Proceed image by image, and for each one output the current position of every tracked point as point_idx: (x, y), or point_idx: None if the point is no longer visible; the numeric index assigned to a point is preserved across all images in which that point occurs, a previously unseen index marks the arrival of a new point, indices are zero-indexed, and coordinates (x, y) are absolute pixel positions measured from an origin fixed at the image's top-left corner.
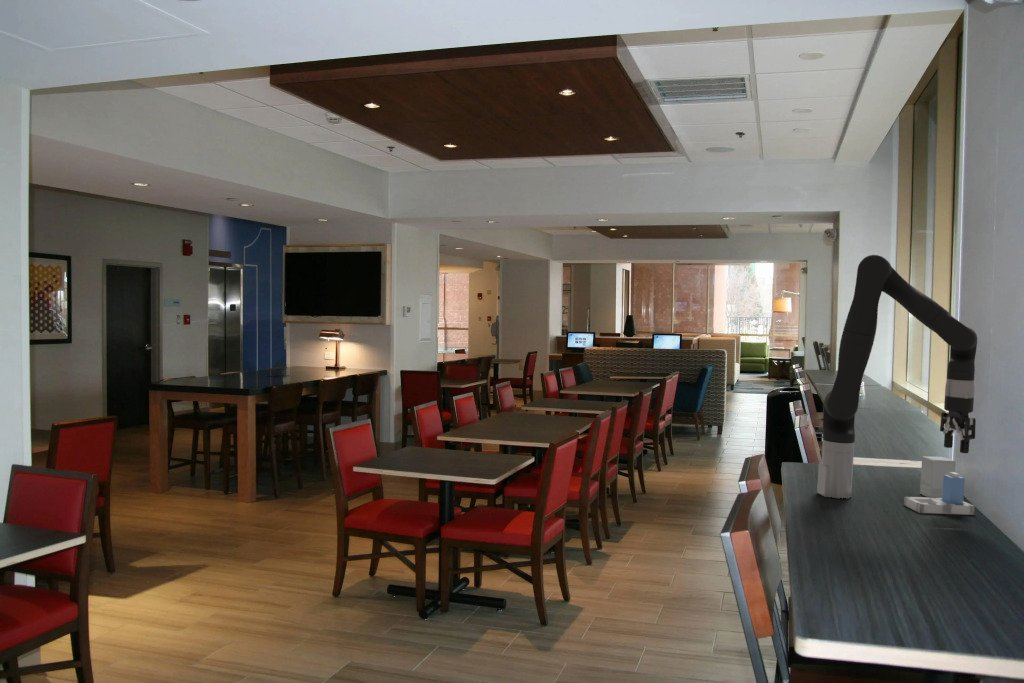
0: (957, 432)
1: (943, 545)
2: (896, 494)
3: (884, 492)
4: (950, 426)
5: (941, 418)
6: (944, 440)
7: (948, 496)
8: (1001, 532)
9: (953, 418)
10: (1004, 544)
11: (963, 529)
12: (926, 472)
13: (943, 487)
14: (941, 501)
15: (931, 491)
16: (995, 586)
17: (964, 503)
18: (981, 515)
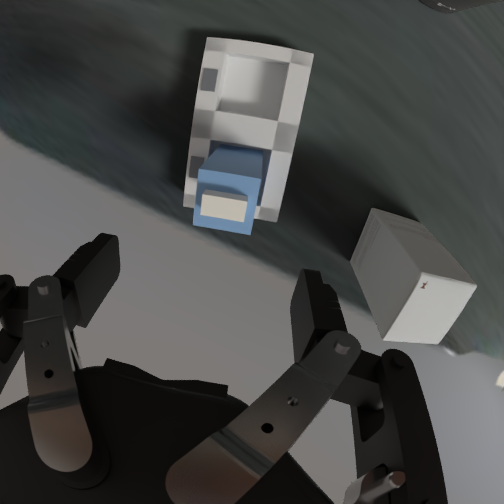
0: (60, 314)
1: (9, 5)
2: (438, 160)
3: (459, 144)
4: (235, 405)
5: (431, 455)
6: (321, 296)
7: (222, 153)
8: (61, 162)
9: (63, 467)
10: (4, 115)
11: (76, 84)
12: (428, 249)
13: (258, 165)
14: (240, 137)
15: (379, 218)
16: None
17: None
18: None
